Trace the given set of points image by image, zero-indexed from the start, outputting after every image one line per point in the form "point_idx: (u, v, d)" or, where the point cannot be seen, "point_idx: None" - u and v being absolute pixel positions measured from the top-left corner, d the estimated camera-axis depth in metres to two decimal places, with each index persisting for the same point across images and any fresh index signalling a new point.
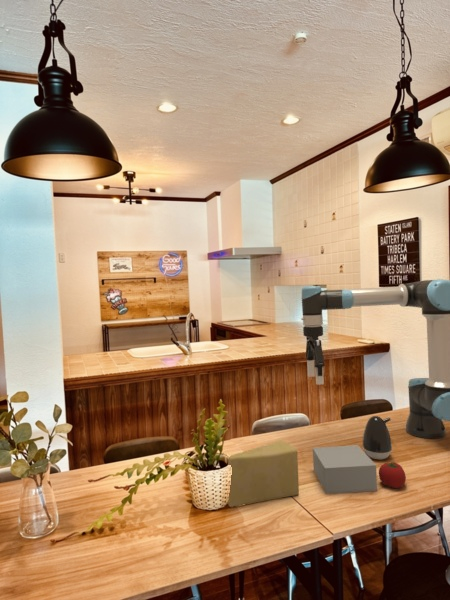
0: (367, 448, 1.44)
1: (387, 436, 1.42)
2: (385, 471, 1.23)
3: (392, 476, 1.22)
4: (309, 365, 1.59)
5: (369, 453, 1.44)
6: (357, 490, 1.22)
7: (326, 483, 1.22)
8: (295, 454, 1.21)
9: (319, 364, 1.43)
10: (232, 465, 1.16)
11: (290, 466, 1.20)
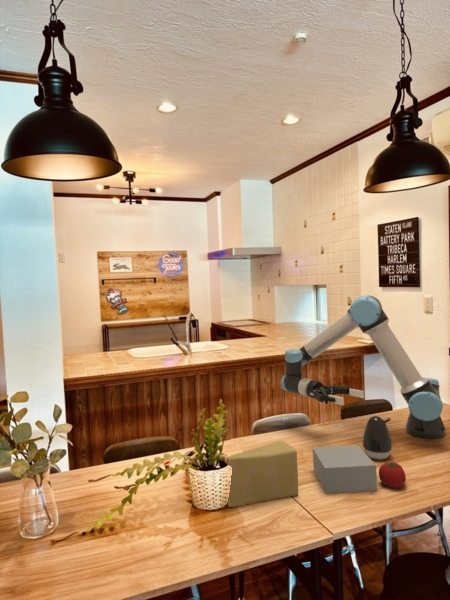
0: (367, 448, 1.44)
1: (387, 436, 1.42)
2: (385, 471, 1.23)
3: (392, 476, 1.22)
4: (353, 394, 1.61)
5: (369, 453, 1.44)
6: (357, 490, 1.22)
7: (326, 483, 1.22)
8: (295, 454, 1.21)
9: (320, 400, 1.53)
10: (231, 465, 1.16)
11: (289, 466, 1.20)
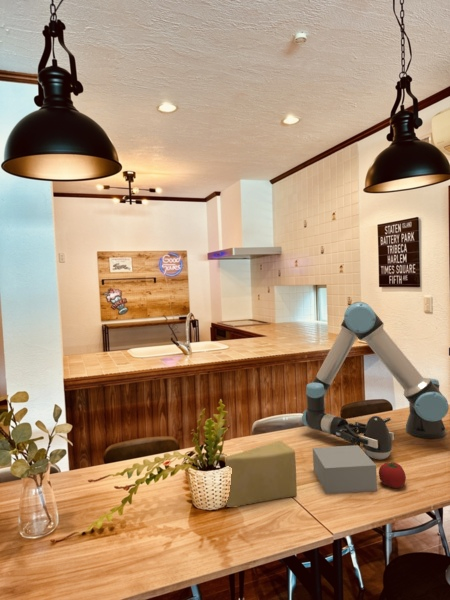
0: (367, 448, 1.44)
1: (387, 436, 1.42)
2: (385, 471, 1.23)
3: (392, 476, 1.22)
4: None
5: (369, 453, 1.44)
6: (357, 490, 1.22)
7: (326, 483, 1.22)
8: (293, 455, 1.20)
9: (352, 442, 1.45)
10: (229, 466, 1.16)
11: (287, 467, 1.20)
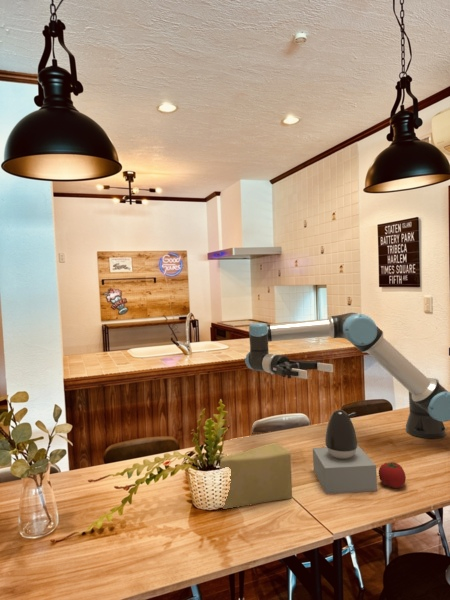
0: (329, 446, 1.27)
1: (351, 432, 1.26)
2: (385, 471, 1.23)
3: (392, 476, 1.22)
4: (321, 368, 1.43)
5: (331, 452, 1.27)
6: (357, 490, 1.22)
7: (326, 483, 1.22)
8: (288, 457, 1.19)
9: (282, 375, 1.36)
10: (224, 467, 1.15)
11: (282, 469, 1.19)
